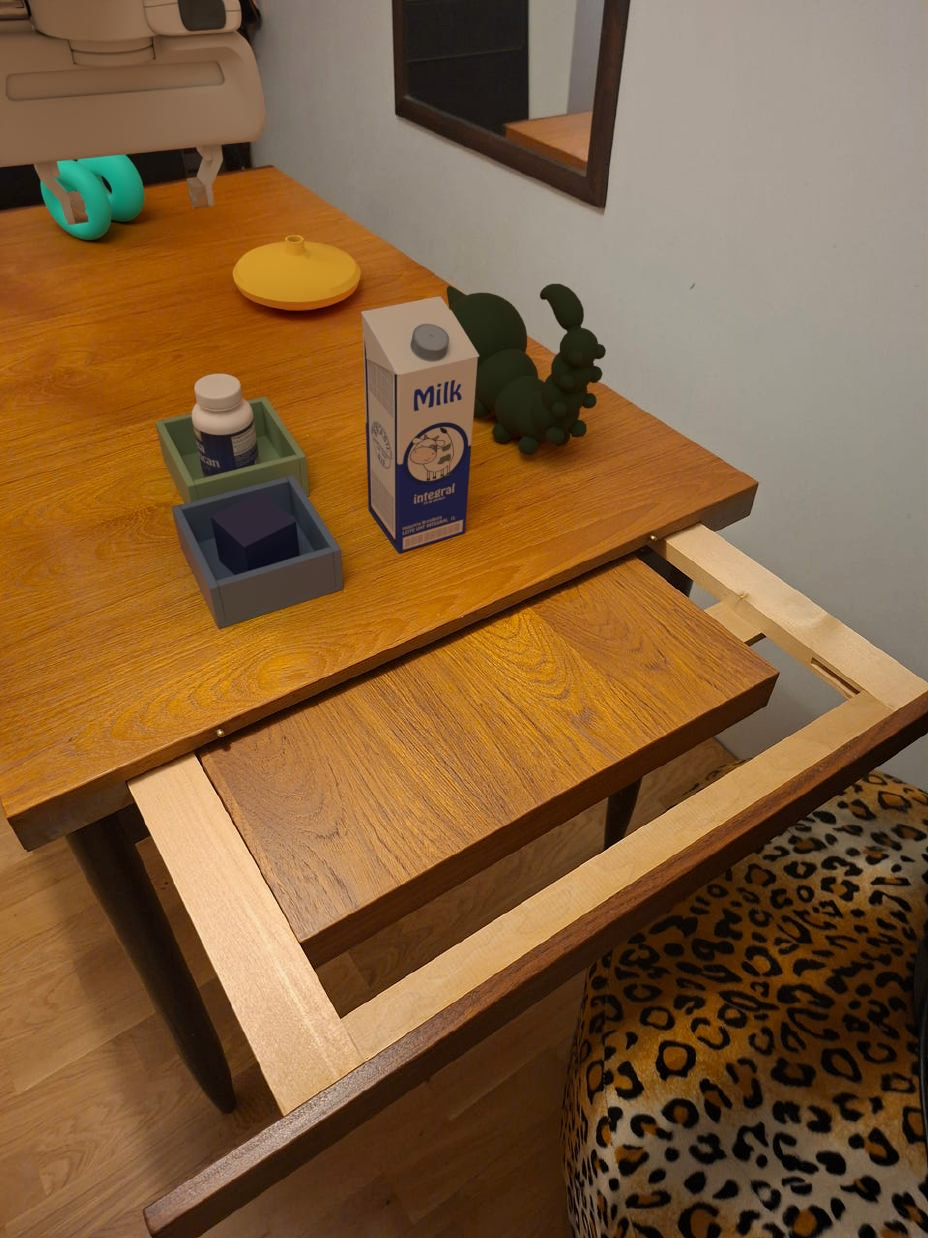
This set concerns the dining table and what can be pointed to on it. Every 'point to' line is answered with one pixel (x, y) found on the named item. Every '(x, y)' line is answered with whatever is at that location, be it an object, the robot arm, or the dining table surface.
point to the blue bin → (267, 584)
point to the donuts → (98, 193)
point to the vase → (296, 274)
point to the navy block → (254, 534)
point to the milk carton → (418, 420)
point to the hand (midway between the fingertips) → (141, 212)
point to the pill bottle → (223, 425)
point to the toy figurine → (529, 368)
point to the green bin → (275, 458)
